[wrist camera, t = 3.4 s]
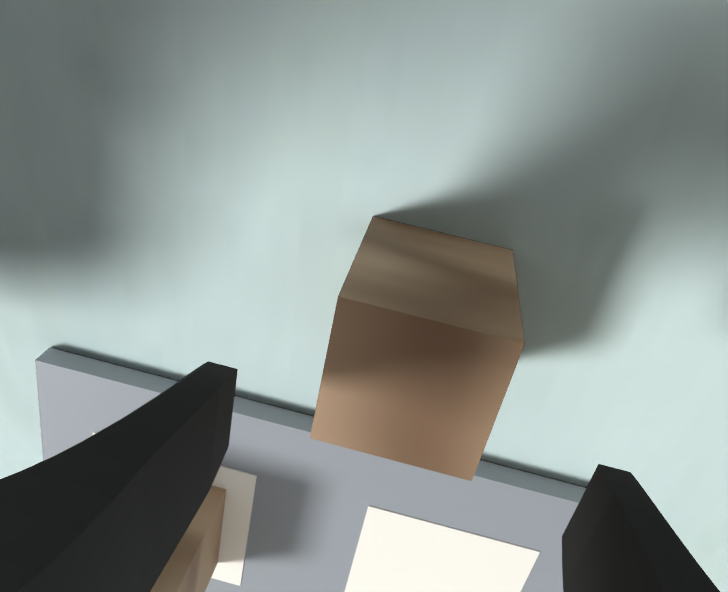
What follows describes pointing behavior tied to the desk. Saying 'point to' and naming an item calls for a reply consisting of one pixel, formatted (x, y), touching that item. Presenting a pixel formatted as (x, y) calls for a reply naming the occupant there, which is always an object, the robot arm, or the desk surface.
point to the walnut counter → (420, 349)
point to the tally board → (334, 500)
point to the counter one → (196, 549)
